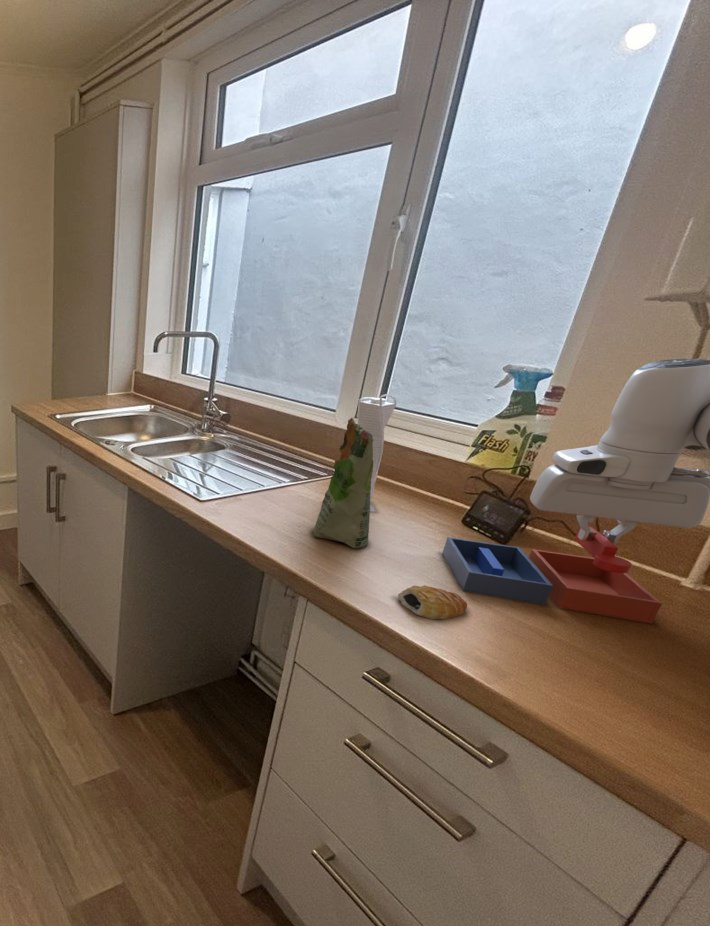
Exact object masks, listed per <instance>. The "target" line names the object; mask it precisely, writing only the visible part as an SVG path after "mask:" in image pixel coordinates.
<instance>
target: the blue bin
mask: <svg viewBox="0 0 710 926" xmlns="http://www.w3.org/2000/svg"><path fill="white" fill-rule="evenodd" d="M478 547H481V548H488V549H489V550H490V551H491V552H492V554H493V555H494V556H495V558H496V559H497V560H498V562H499V563H500V564H501V566H502V567H503V568H504V572H503V575H502V576H498V575H491V574H485V573H482V571H481V569H480V568H479V566H478V565H477V563H476V562H475V560H474V559H475V556H476V553H477V550H478ZM441 555H442V557H443V558H444V560H445V562H446V563H447V565H448V567H449V569H450V571H451V573H452V575H453V576H454V578H455V580H456V581H457V583H458V585H459V587H460V588H461V590H462V591H463V592H467V593H474V594H478V595H485V596H491V597H496V598H503V599H508V600H514V601H520V602H525V603H531V604H537V605H542V606H545V605H546V604H547V601H548V599H549V598H550V596H549V595H550V592H551V590H552V588H553V585H552V584H551V583H550V582H549V580H548V579H547V578H546V577H545V576H544V575H543V574H542V572H541V571H540V570H539V569H538V568H537V567H536V566H535V564H534V563H533V562H532V561H531V560H530V559H529V555H527V554H526V553H525V552H524V550H522V548H521V547H520V546H512V545H506V544H500V543H492V542H484V541H478V540H472V539H471V540H470V539H464V538H457V537H449V536H447V538H446V541H445V544H444V547H443V550H442V553H441Z"/></svg>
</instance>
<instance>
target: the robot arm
mask: <svg viewBox="0 0 710 926" xmlns="http://www.w3.org/2000/svg"><path fill="white" fill-rule="evenodd" d="M690 446H694V447H695V446H696V447H703V448H705V449H706V450H708V451H709V452H710V359H704V358H675V359H664V360H658V361H652V362H648V363H647V364H644V365H642V366H640V367H638V368H637V369H635V371H633V373H632V374H631V375H630V377H629V378H628V380H627V381H626V383H625V384H624V387H623V388H622V390H621V392H620V394H619V396H618V397H617V400H616V402H615V404H614V406H613V409H612V411H611V413H610V423H609V426H608V428H607V430H606V431H605V432H604V434H603V435H602V436H601V438H600V439H599V441H598V444H596V445H589V446H584V447H576V448H569V449H562V450H558V451H556V452H554V454H553V456H552V462H553V464H551V465H550V466H548V467H546V468H545V469H544V470H543V471H542V472H541V473H540V475H539V477H538V479H537V481H536V482H535V484H534V486H533V488H532V491H531V493H530V496H529V500H530V503H531V504H532V505H533V506H534V507H535V508H536V509H537V510H539V511H543V512H551V513H560V514H566V515H574V516H575V515H576V520H577V523H578V525H579V527H581V529H580V531H579V533H578V538H579V539H580V540H585V541H593V540H594V537H595V536H596V534H597V532H595V531H594V530H593V529H590V527H591V526H590V524H589V523H594V520H595V519H596V518H600V519H609V520H616V521H617V523H618V525H616V526H615V527H613V529H611V530H605V529H604V530H603V532H602V535H603V536H604V537H605V538H606V539H608V540H609V541H610V542H611V543H612V544H614V545H615V546H616V545H618V543H619V541H620V539H621V537H623V536H625V535H627V534H628V533H630V532H632V531H633V530H635V528H636V526H637V524H638V523H641V524H648V525H655V526H664V527H672V528H681V529H689V530H690V529H693V528H695V527H697V526H699V525H701V524H702V522H703V520H704V517H705V514H706V512H707V510H708V506H709V502H710V471H708V470H704V469H689V468H684V467H675V466H676V464H677V463H678V461H679V458H680V456H681V455H682V452H683V450H684V449H685V448H686V447H690Z"/></svg>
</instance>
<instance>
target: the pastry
mask: <svg viewBox="0 0 710 926" xmlns="http://www.w3.org/2000/svg"><path fill="white" fill-rule="evenodd" d="M397 598H398V601H399V602H400V603H401V604H402V605H403V606H404V607H405V608H407V609H408V610H410V611H411V612H412V613H414V614H415V615H417V616H418V617H423V618H426V619H431V620H438V619H441V620H444V619H450V618H451V619H452V618H454V617H458V616H461V615H463V614H464V613H466V610H467V608H468V602H467V601H466V600H465V599H464V598H462V596H461V595H459V594H457V593H455V592H453V591H447V590H445V589H441V588H437V587H433V586H429V585H425V584H424V585H421V586H419V585H411V586H410V587H406V589H404V590H402V591H401V592H399V593H398V595H397Z"/></svg>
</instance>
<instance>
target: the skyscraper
mask: <svg viewBox="0 0 710 926" xmlns="http://www.w3.org/2000/svg"><path fill="white" fill-rule="evenodd" d="M384 397H390V398H392V399H393V402H387V399H386V398H384ZM396 406H397V400H396V398H395V396H394V395H393V394H390V393H384V394H381V395H380V396H379V397H374V396H364V397H360V398H359V399H358V401H357V424H358V425H359V424H360V428H363V430H366V431H368V432H369V433H370V434H371V435H372V436H373V437H372V438H373V440H374V441H373V472H372V478H371V492H370V493H371V494H370V513H376V509H375V508H374V506H373V504H372V501H373V500H372V499H373V496H374V494H375V485H376V482H377V478H378V475H379V473H378V472H379V469H380V466H381V462H382V457H383V454H384V453H383V452H384V447H385V446H384V443H385V428H386V426H387V425H388V422H389V420H390V418H391V416H392V414H393V412H394V410H395V408H396Z"/></svg>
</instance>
